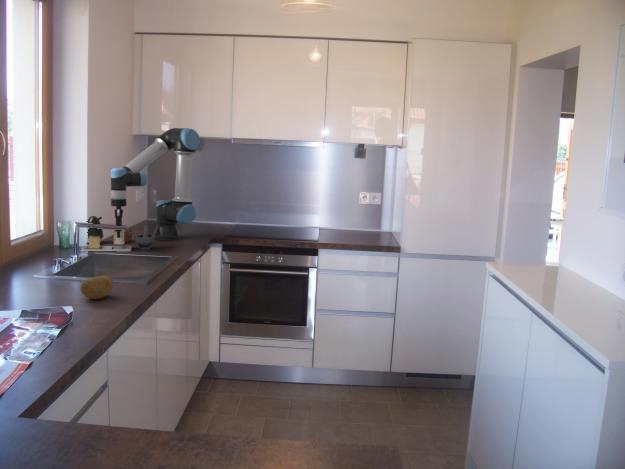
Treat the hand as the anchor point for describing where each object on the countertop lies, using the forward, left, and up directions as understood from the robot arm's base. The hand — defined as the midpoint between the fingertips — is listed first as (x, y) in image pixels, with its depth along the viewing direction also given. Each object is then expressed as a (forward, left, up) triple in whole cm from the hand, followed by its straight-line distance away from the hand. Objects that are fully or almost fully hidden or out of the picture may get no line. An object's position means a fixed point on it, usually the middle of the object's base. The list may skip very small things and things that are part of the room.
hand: (119, 242), depth 290 cm
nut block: (0, 0, 0) cm, 0 cm away
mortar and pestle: (-13, -3, -4) cm, 14 cm away
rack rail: (+6, 0, -4) cm, 7 cm away
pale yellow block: (+12, 0, -4) cm, 13 cm away
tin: (-1, -22, -4) cm, 22 cm away
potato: (+3, +92, -4) cm, 92 cm away
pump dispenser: (+14, -19, -4) cm, 24 cm away
